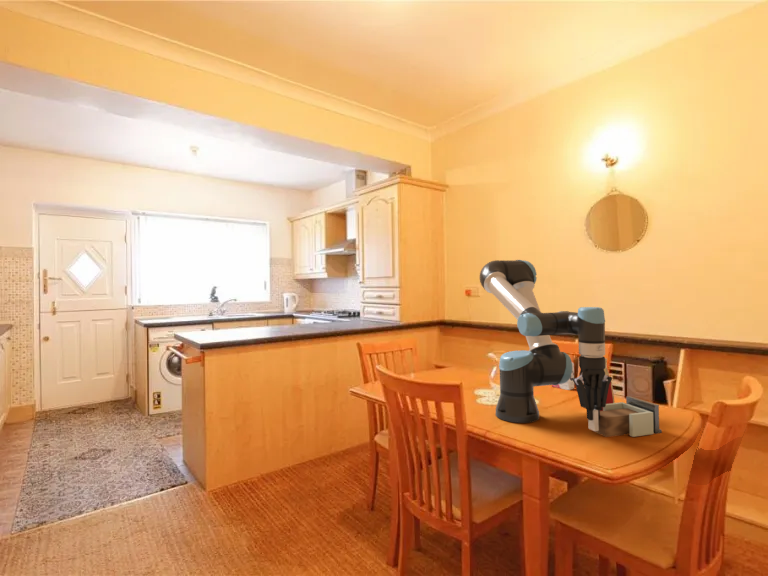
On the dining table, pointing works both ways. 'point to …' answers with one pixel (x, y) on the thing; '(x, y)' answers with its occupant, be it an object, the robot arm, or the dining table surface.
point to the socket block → (635, 419)
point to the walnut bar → (614, 422)
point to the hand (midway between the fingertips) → (593, 429)
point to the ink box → (569, 383)
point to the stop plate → (648, 407)
